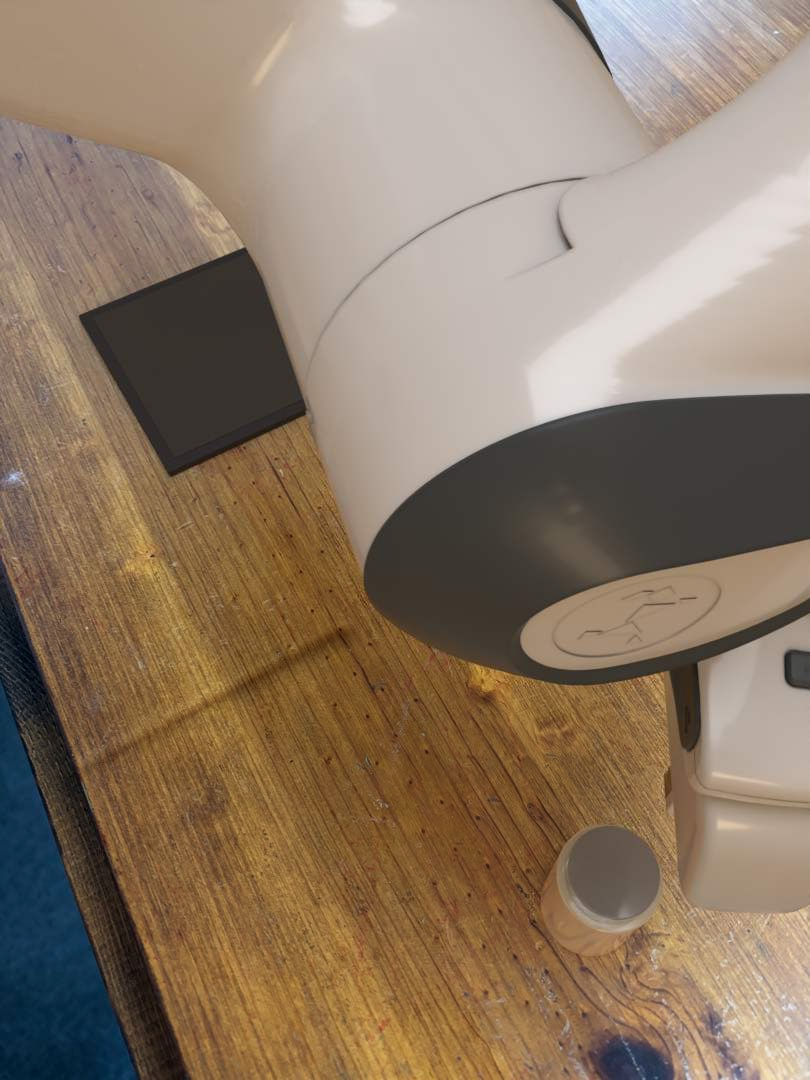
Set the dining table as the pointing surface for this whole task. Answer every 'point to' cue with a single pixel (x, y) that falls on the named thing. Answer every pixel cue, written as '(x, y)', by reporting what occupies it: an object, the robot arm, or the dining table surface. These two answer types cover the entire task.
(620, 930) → the salt shaker
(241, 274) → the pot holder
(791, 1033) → the dining table surface
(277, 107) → the robot arm
